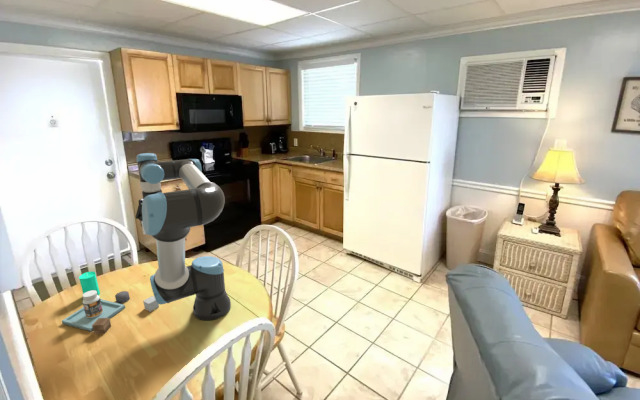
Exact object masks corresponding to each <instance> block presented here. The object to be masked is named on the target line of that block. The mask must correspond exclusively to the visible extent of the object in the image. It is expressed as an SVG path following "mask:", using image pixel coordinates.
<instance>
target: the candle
mask: <svg viewBox="0 0 640 400" xmlns="http://www.w3.org/2000/svg"><path fill="white" fill-rule="evenodd" d="M78 278H79V284H80V287H81V291H82V295H83V294H84V293H86V292H88V291H91V290H95V291H97V295H98V296H99V297H100V295H101V292H100V288H99V282H98V279H97V274H96V272H95V271H86V272H83V273H82V274H81V275H79V276H78Z"/></svg>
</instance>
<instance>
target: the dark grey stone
mask: <svg viewBox="0 0 640 400" xmlns="http://www.w3.org/2000/svg"><path fill="white" fill-rule="evenodd" d="M129 293H130V292H129V291H127V290H123V291H119V292H118V293H116V294H115V296H114V297H115V303H119V304H125V303H127V302H128V301H130V299H131V298H130V294H129Z"/></svg>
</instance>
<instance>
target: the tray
mask: <svg viewBox="0 0 640 400" xmlns="http://www.w3.org/2000/svg"><path fill="white" fill-rule="evenodd" d="M100 300H101V304H102V309H103V312H102V314H101V315H99V316H98V317H95V318H87V317H86V314H85V311H84V307H83V306H82V308H80V309H78V310H76V311H75V312H73V313H72V314H69V316H67V317H65V318H63V319H62V320H61V322H62V323H61V324H63V325H65V326H69V327H73V328H76V329H81V330H83V331H88V332H94V331H93V328H92V325H93V324H94V323H95V322H96V320H97V319H98V318H109V319H112V318H114V316H116V315H118V314H119V313H120V312H121V311H122V312H123V310H125V309H126V305H125V304H124V303H121V304H119V303H117V302H116V301H109V300H106V299H101V298H100Z"/></svg>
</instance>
